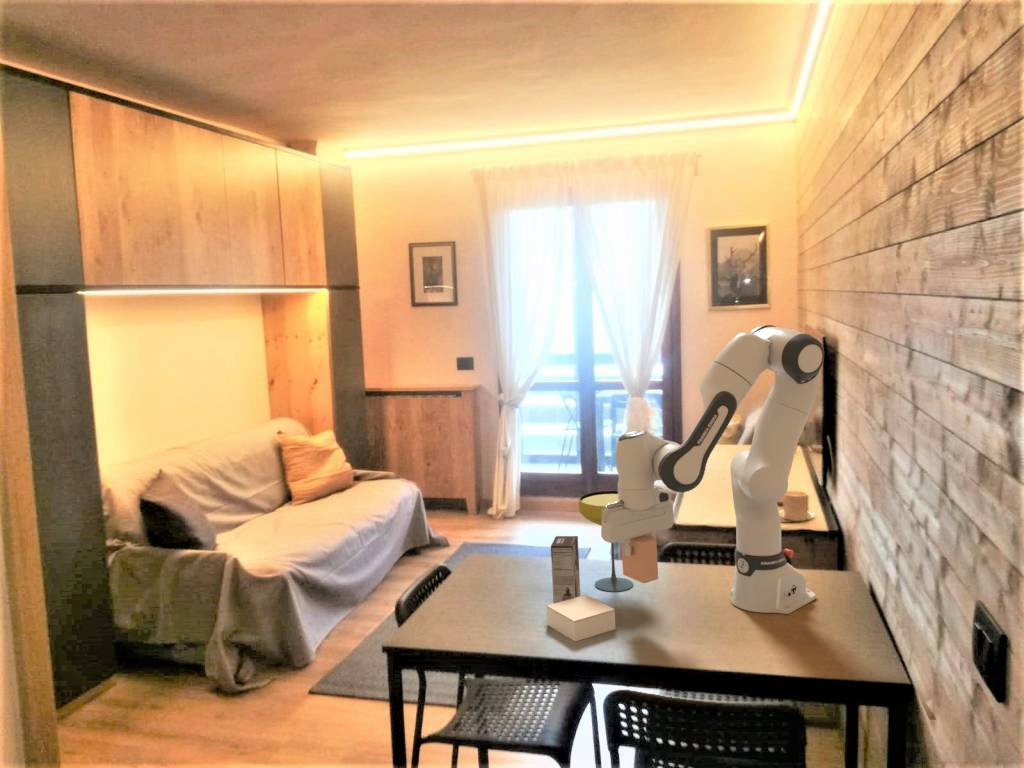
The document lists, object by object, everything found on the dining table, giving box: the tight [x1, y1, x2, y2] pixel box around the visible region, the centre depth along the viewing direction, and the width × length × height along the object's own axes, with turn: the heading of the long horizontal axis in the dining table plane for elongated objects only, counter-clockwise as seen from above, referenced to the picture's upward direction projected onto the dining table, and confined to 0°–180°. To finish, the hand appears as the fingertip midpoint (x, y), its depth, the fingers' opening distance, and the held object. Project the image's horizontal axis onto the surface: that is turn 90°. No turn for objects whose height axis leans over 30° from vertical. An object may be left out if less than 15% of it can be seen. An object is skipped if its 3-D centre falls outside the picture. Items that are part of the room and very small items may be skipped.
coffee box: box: [550, 535, 581, 604], centre depth 209 cm, size 9×6×16 cm
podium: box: [546, 594, 616, 642], centre depth 190 cm, size 12×12×5 cm
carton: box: [621, 534, 659, 584], centre depth 189 cm, size 4×8×10 cm, turn 30°
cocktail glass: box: [578, 490, 634, 593], centre depth 217 cm, size 18×18×25 cm
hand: (639, 552), depth 189 cm, fingers closed on carton, 4 cm apart
